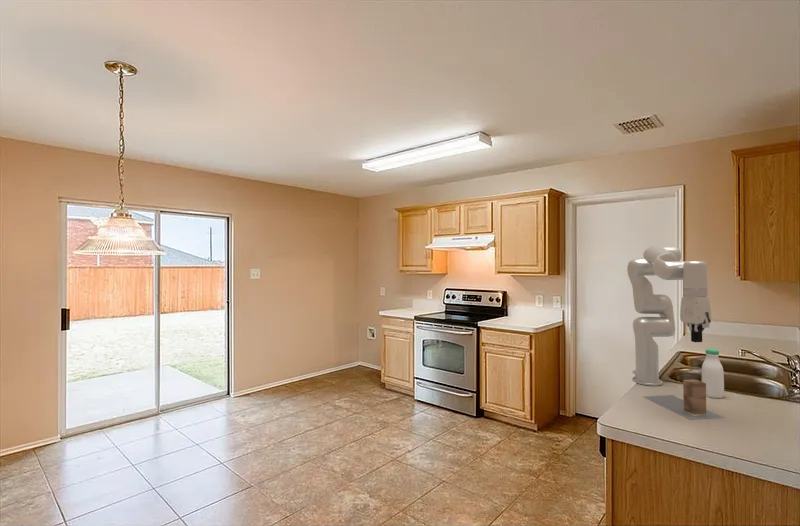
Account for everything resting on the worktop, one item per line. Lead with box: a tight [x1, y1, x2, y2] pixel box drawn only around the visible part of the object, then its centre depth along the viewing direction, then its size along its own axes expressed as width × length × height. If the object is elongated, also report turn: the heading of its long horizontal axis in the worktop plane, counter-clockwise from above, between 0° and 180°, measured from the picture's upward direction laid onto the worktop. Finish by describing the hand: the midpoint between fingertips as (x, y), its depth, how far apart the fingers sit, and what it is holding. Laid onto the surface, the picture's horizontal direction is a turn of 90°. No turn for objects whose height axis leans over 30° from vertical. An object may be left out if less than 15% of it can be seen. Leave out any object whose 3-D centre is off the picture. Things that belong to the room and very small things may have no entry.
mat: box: [643, 394, 726, 421], centre depth 163 cm, size 26×14×1 cm, turn 5°
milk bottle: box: [701, 348, 725, 399], centre depth 177 cm, size 8×8×20 cm
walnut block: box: [682, 379, 707, 416], centre depth 156 cm, size 5×5×12 cm
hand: (696, 341), depth 155 cm, fingers closed
